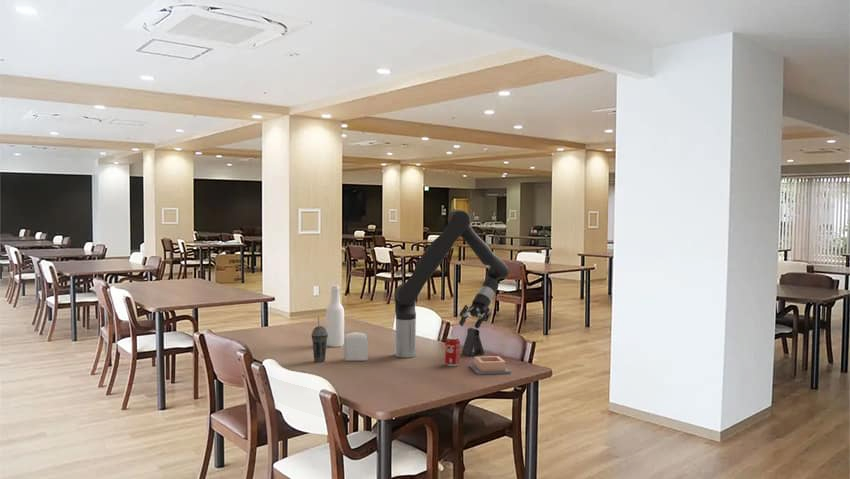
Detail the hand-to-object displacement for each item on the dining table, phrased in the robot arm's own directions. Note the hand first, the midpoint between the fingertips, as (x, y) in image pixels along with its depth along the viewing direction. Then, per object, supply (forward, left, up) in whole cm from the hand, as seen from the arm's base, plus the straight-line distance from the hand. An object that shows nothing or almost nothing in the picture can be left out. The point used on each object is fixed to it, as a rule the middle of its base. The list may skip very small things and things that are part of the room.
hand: (468, 326), depth 269 cm
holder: (+5, -17, -16) cm, 24 cm away
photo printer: (-50, +7, -16) cm, 52 cm away
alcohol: (-59, +39, -16) cm, 72 cm away
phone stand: (+5, +13, -16) cm, 21 cm away
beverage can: (-9, -7, -16) cm, 19 cm away
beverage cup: (-66, +6, -16) cm, 68 cm away
